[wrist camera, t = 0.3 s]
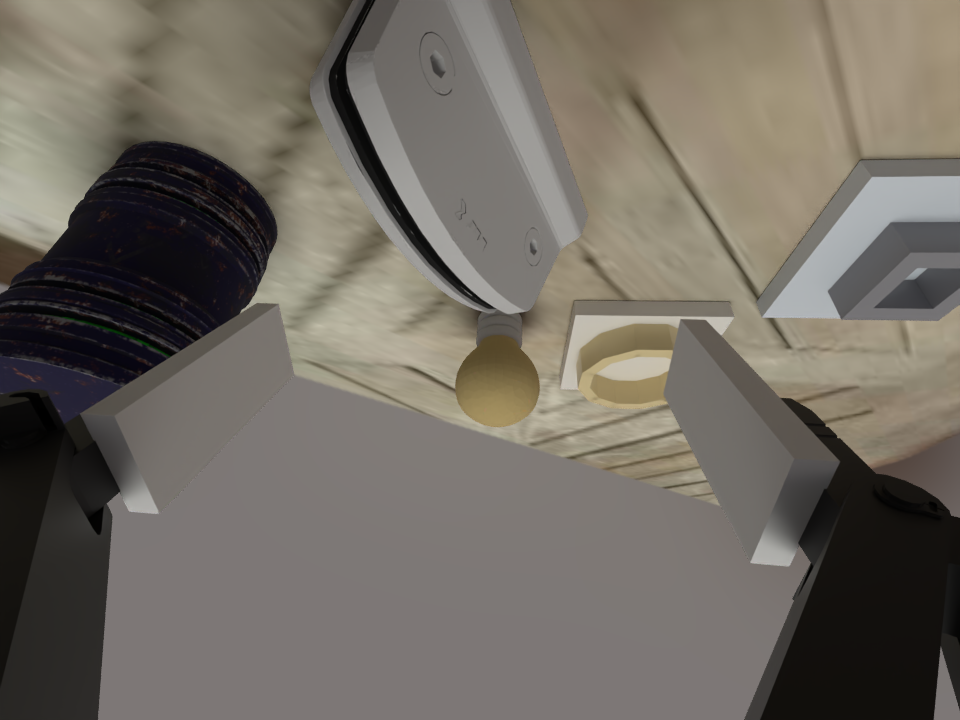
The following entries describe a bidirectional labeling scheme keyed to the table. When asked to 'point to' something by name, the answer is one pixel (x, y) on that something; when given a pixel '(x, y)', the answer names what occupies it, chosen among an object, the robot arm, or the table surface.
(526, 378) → the light bulb
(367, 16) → the white curved block
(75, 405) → the storage jar
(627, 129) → the table surface
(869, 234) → the square socket
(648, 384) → the round socket
